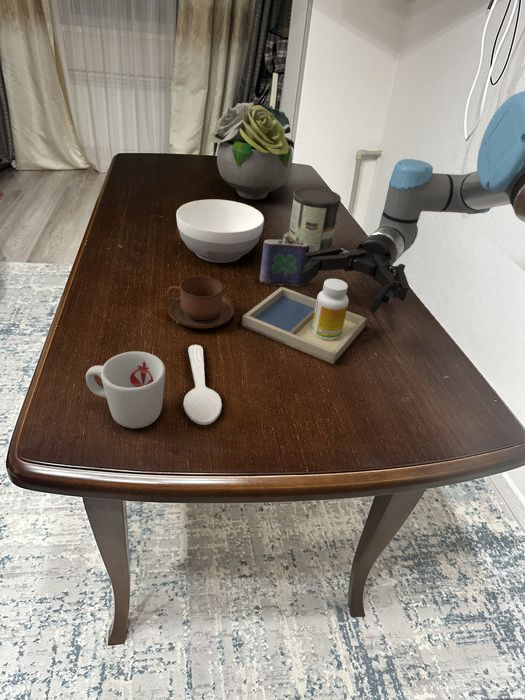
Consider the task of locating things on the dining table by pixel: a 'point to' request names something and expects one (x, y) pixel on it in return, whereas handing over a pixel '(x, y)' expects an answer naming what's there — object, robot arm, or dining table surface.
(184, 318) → the cup and saucer
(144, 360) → the cup
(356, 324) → the sorting tray
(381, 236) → the robot arm
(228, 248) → the bowl
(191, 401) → the spoon
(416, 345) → the dining table surface
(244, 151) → the flower arrangement
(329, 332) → the supplement bottle
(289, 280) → the flask
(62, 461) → the dining table surface
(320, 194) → the coffee can
